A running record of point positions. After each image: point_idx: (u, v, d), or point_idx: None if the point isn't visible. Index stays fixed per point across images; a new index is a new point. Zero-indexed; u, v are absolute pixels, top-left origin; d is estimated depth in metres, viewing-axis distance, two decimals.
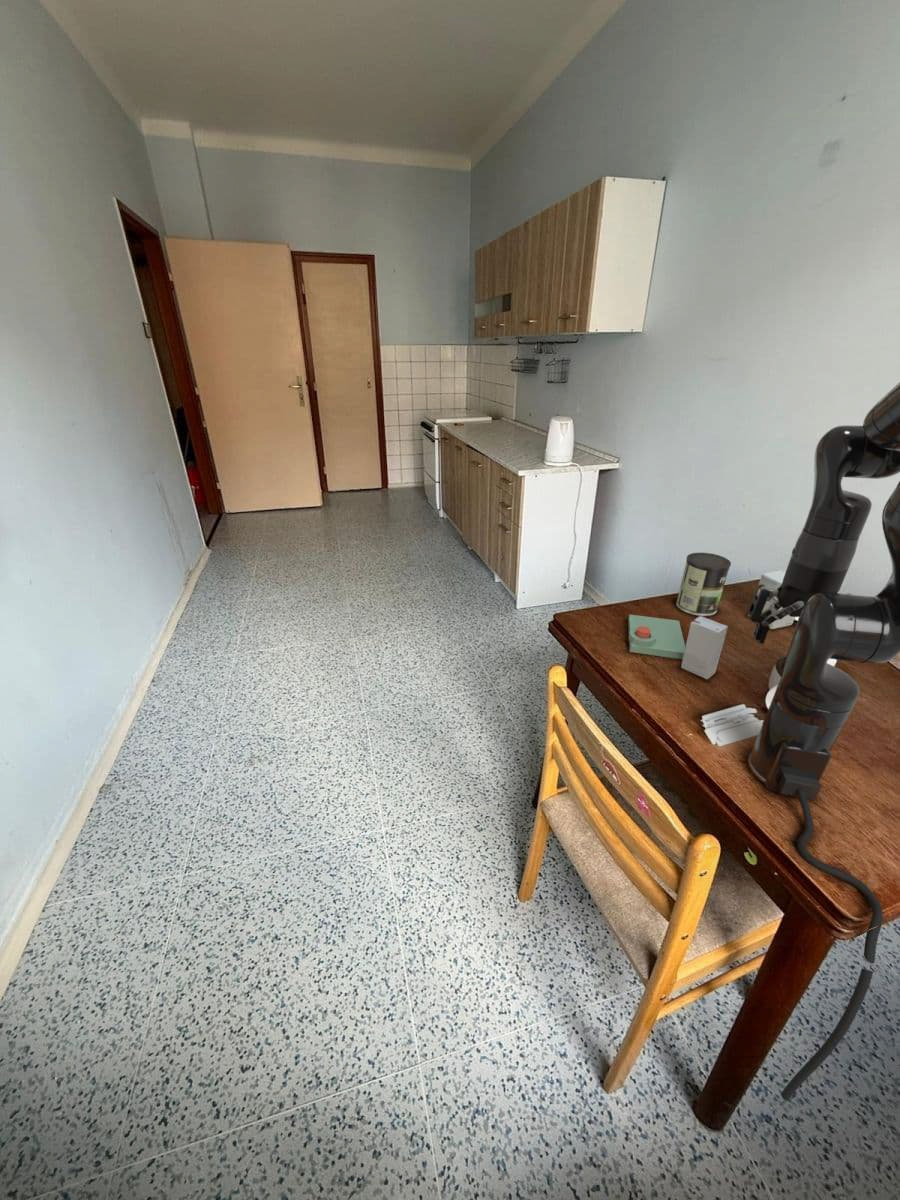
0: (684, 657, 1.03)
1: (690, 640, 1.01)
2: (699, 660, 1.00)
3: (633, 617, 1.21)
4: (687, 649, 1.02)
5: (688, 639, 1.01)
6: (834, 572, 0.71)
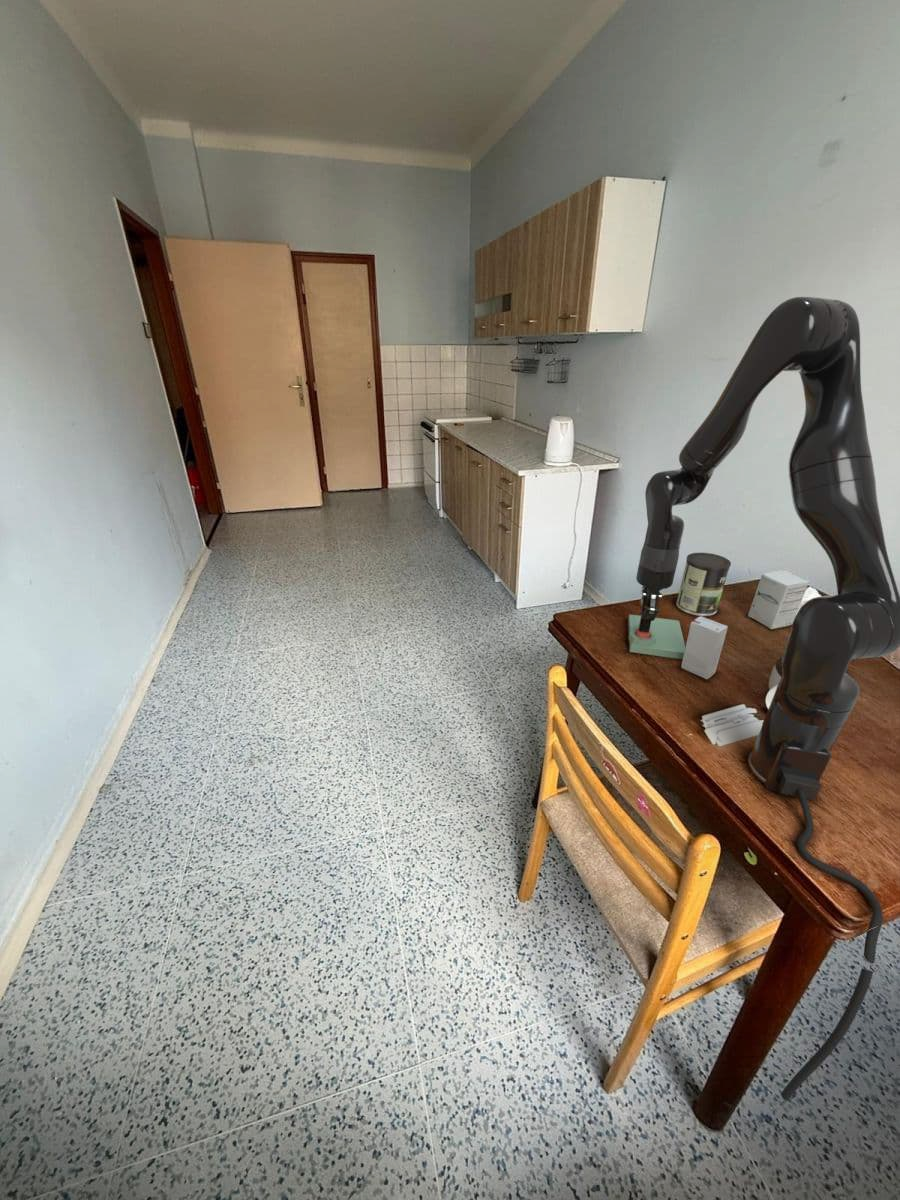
0: (684, 657, 1.03)
1: (690, 640, 1.01)
2: (699, 660, 1.00)
3: (633, 617, 1.21)
4: (687, 649, 1.02)
5: (688, 639, 1.01)
6: (639, 565, 1.03)
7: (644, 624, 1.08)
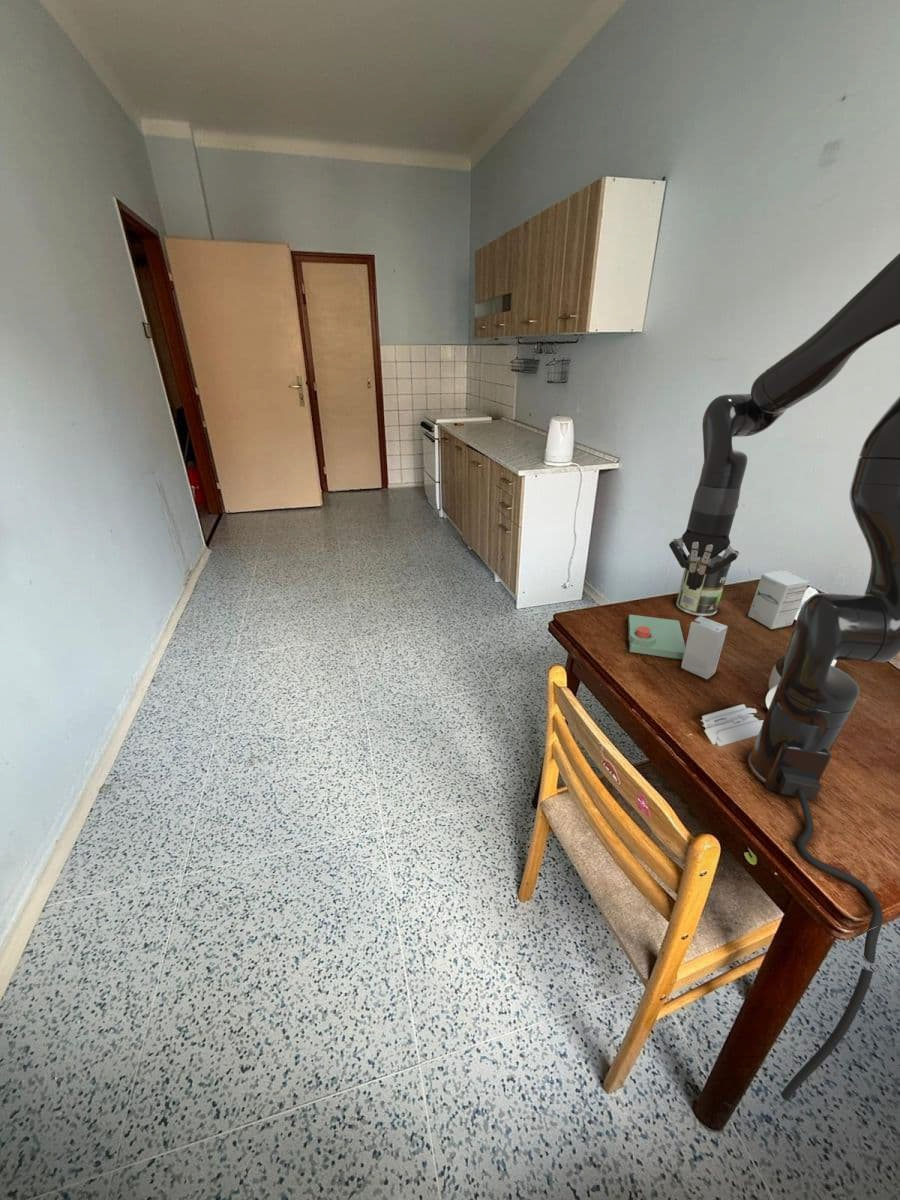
0: (684, 657, 1.03)
1: (690, 640, 1.01)
2: (699, 660, 1.00)
3: (633, 617, 1.21)
4: (687, 649, 1.02)
5: (688, 639, 1.01)
6: (714, 515, 0.87)
7: (702, 579, 0.96)
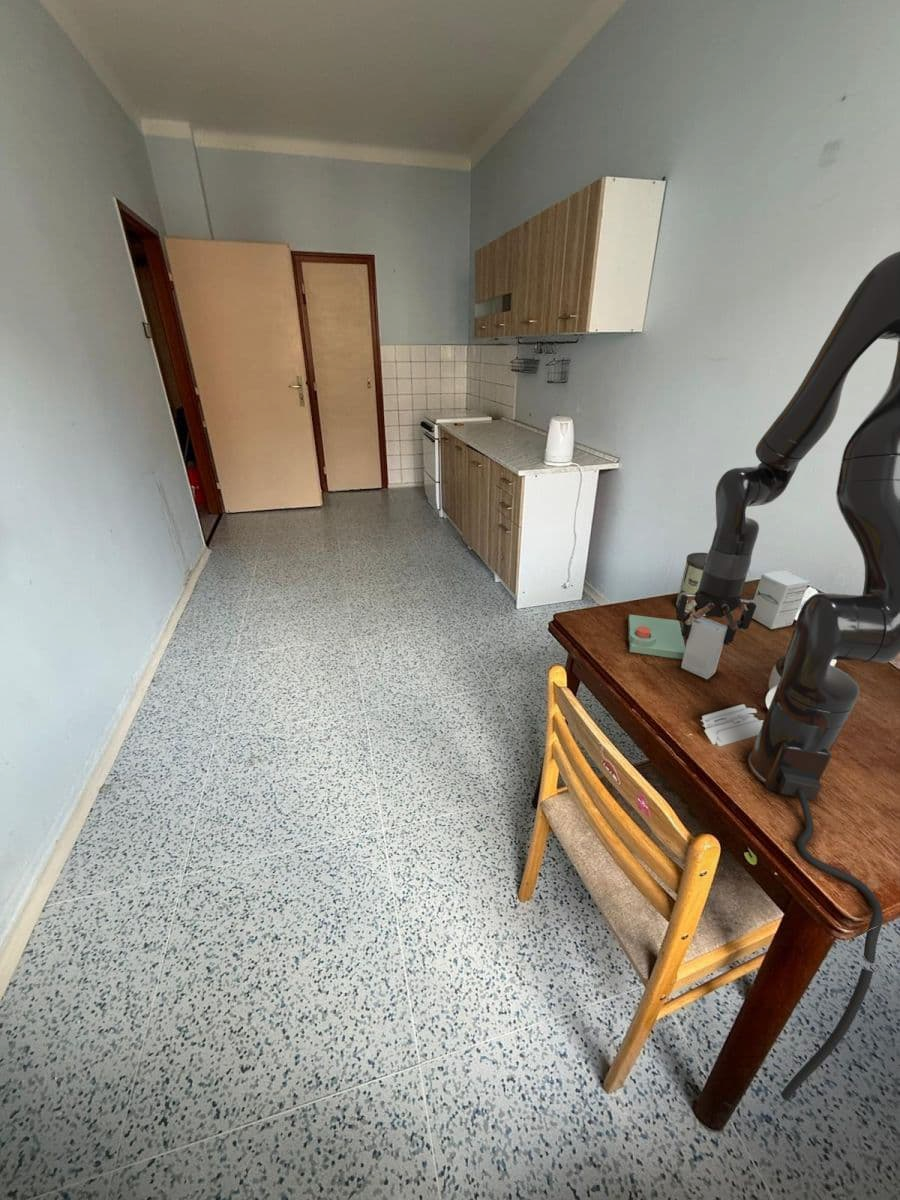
0: (684, 657, 1.03)
1: (690, 640, 1.01)
2: (699, 660, 1.00)
3: (633, 617, 1.21)
4: (687, 649, 1.02)
5: (688, 639, 1.01)
6: (733, 580, 0.89)
7: None
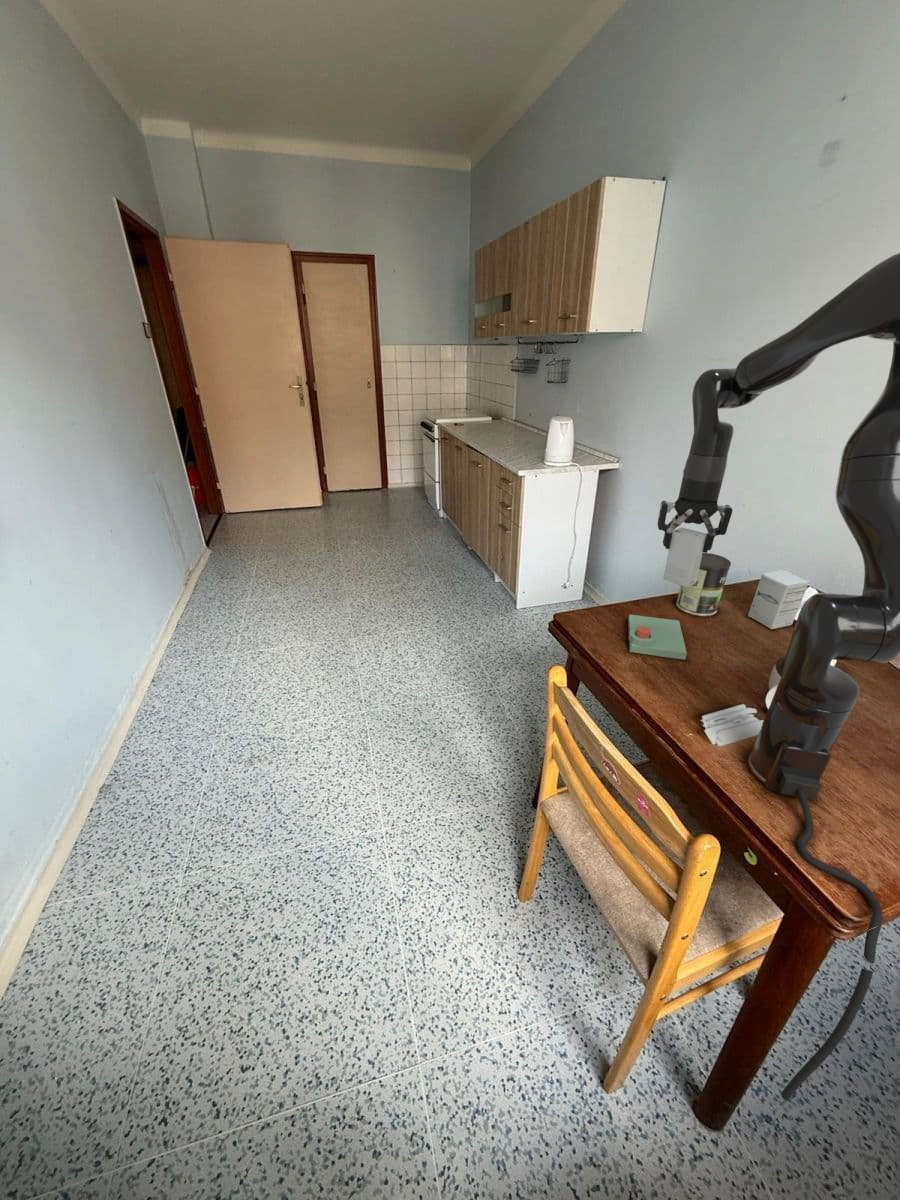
0: (666, 568, 1.08)
1: (671, 550, 1.06)
2: (680, 568, 1.05)
3: (633, 617, 1.21)
4: (669, 560, 1.07)
5: (670, 549, 1.06)
6: (710, 482, 0.94)
7: None
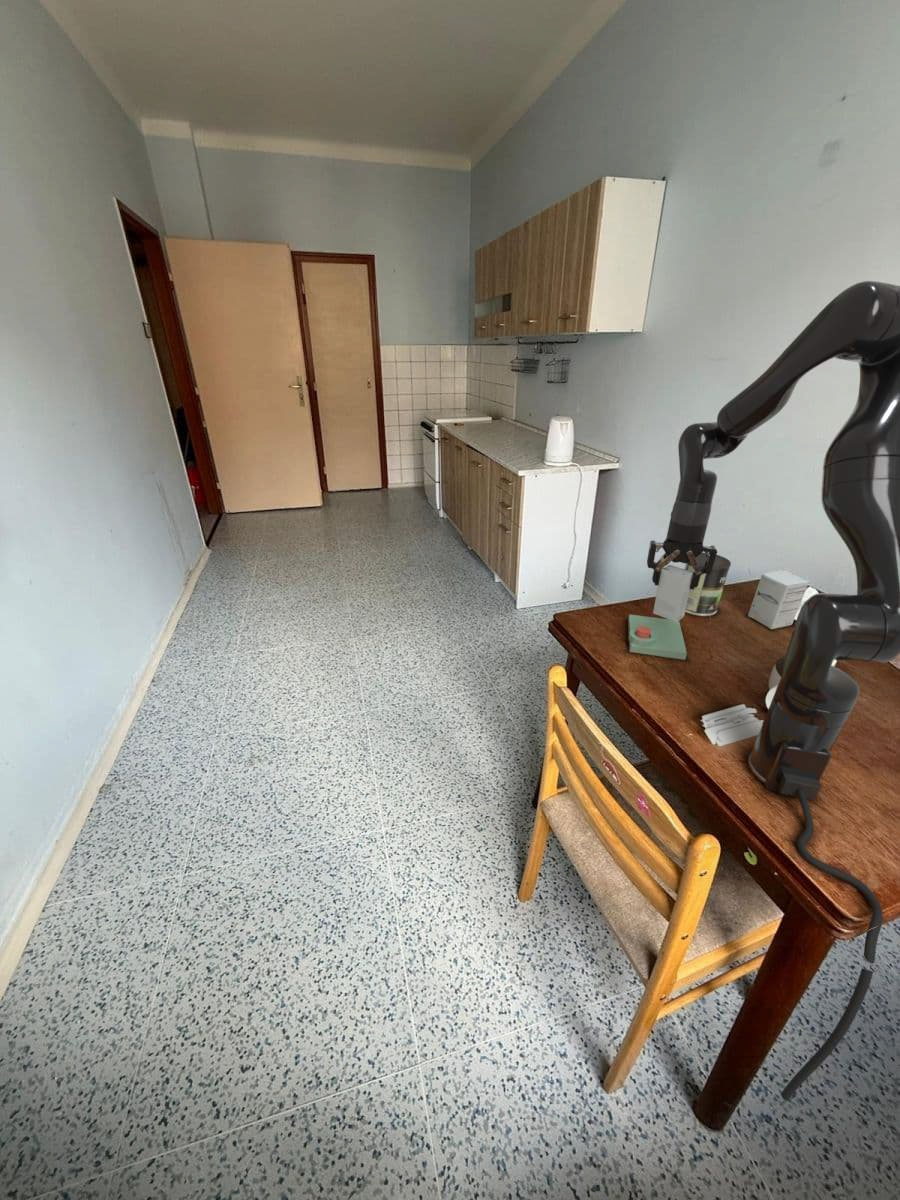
0: (655, 603, 1.14)
1: (660, 586, 1.11)
2: (668, 604, 1.11)
3: (633, 617, 1.21)
4: (658, 595, 1.13)
5: (659, 585, 1.12)
6: (695, 526, 1.00)
7: None
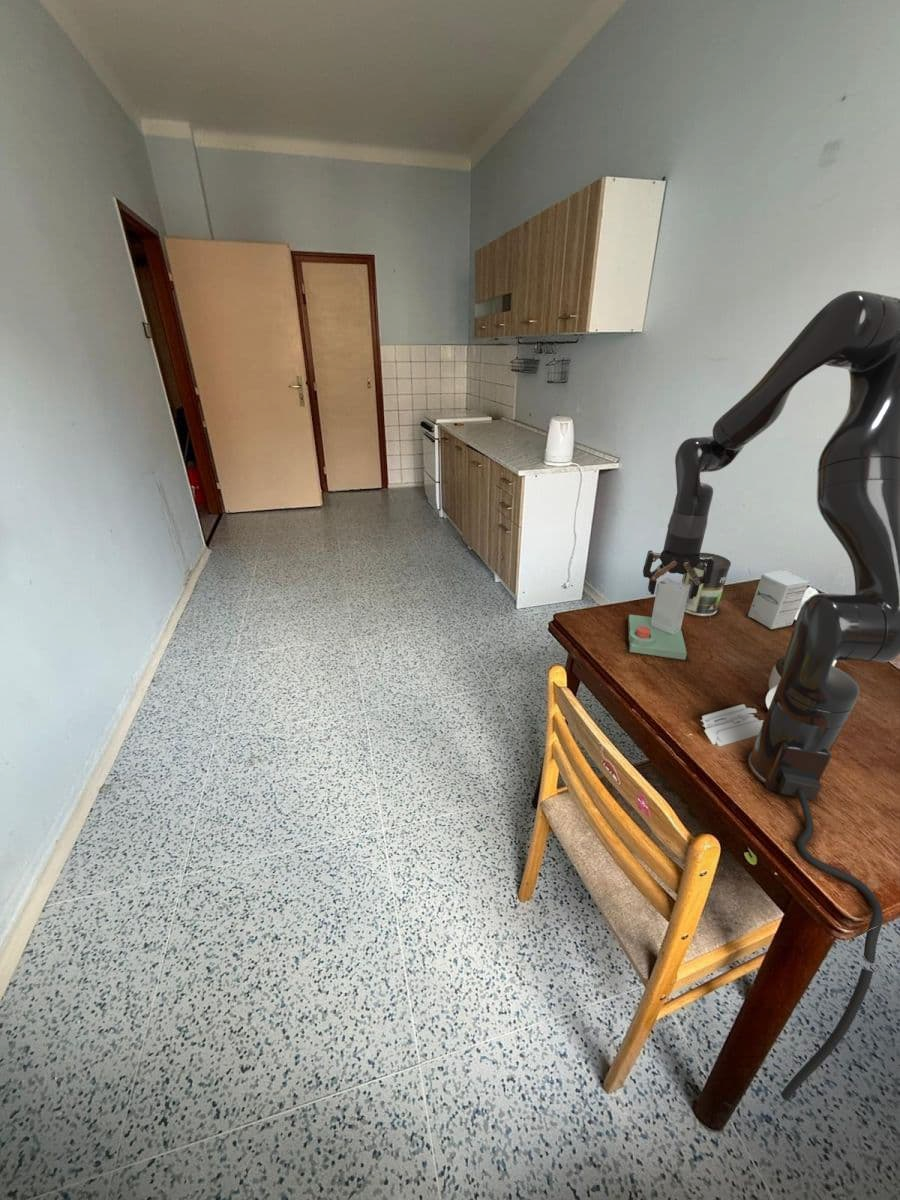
0: (653, 615, 1.15)
1: (657, 599, 1.13)
2: (665, 617, 1.13)
3: (633, 617, 1.21)
4: (655, 608, 1.14)
5: (656, 599, 1.13)
6: (692, 539, 1.01)
7: None
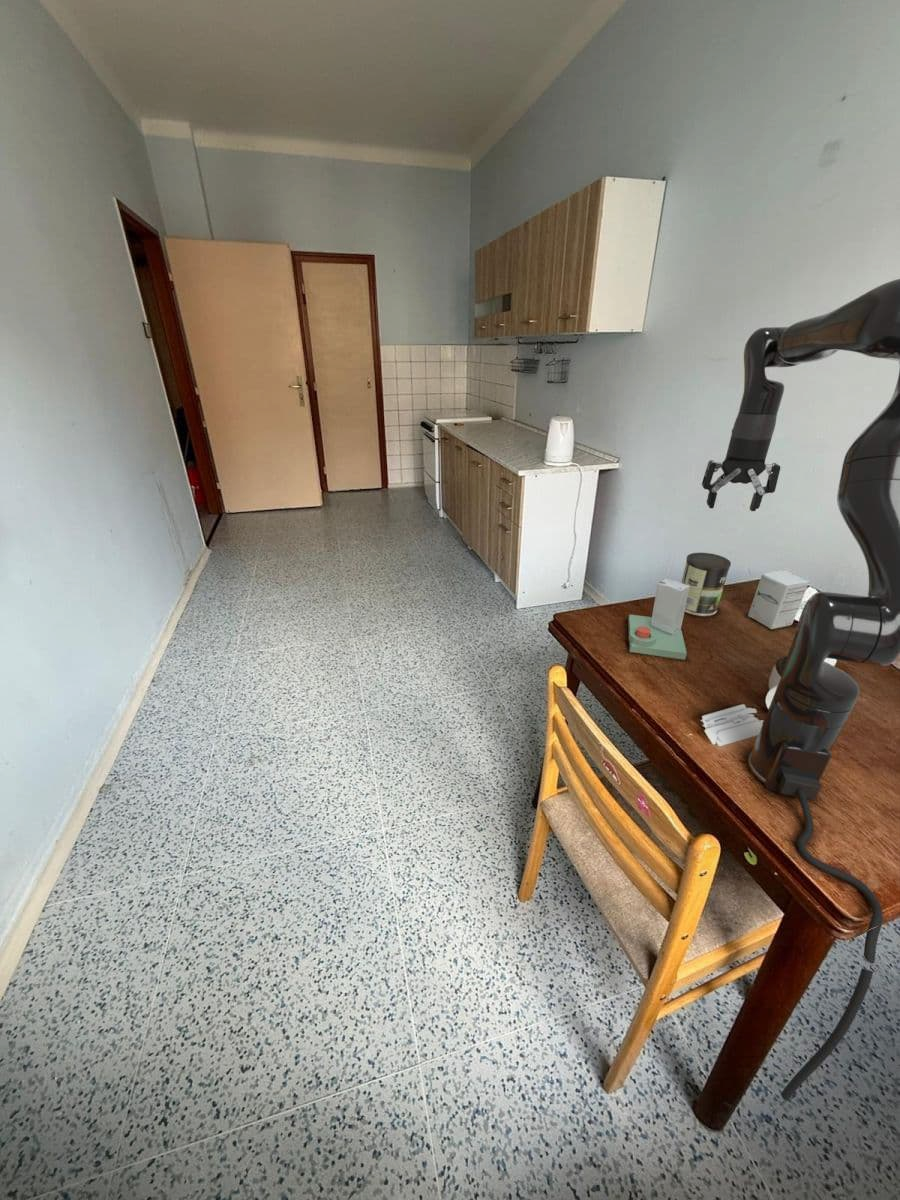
0: (653, 615, 1.15)
1: (657, 599, 1.13)
2: (665, 617, 1.13)
3: (633, 617, 1.21)
4: (655, 608, 1.14)
5: (656, 599, 1.13)
6: (759, 440, 0.97)
7: None
